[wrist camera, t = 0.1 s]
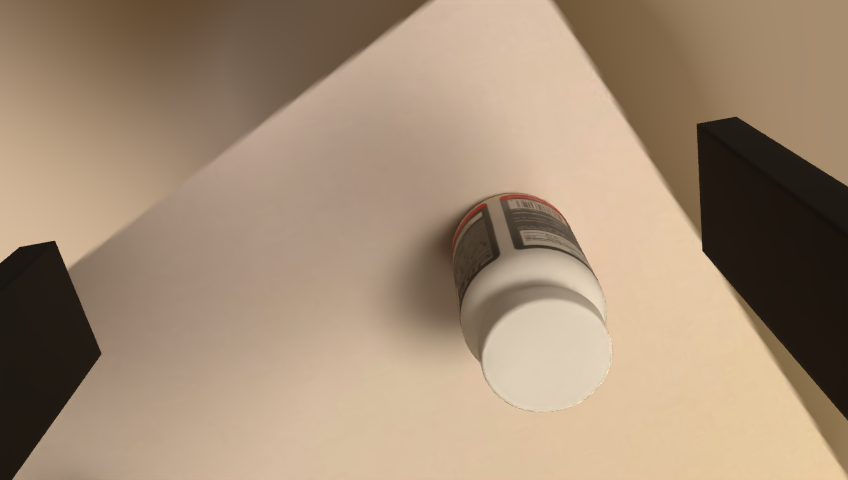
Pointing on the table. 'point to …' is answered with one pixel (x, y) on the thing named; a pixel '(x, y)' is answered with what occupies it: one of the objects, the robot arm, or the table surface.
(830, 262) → the robot arm
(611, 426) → the table surface
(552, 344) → the pill bottle
